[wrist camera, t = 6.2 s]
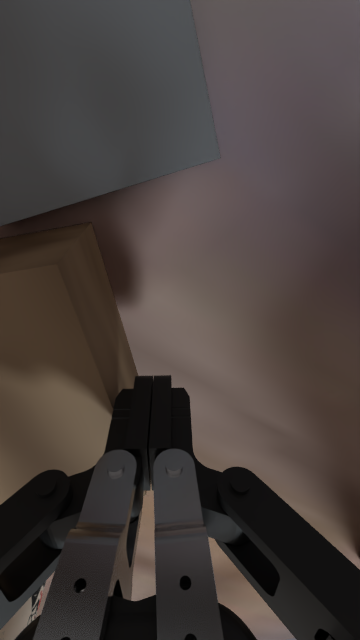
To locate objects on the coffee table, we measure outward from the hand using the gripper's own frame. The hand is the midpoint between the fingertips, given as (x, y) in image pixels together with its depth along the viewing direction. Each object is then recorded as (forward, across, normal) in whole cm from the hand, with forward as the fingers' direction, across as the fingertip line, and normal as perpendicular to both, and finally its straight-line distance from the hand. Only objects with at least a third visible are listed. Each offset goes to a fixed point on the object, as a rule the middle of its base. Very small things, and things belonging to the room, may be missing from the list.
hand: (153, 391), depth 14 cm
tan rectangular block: (+4, +6, 0) cm, 7 cm away
